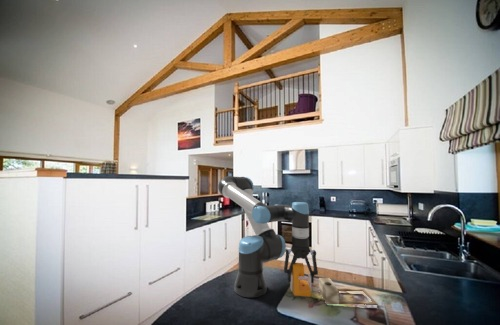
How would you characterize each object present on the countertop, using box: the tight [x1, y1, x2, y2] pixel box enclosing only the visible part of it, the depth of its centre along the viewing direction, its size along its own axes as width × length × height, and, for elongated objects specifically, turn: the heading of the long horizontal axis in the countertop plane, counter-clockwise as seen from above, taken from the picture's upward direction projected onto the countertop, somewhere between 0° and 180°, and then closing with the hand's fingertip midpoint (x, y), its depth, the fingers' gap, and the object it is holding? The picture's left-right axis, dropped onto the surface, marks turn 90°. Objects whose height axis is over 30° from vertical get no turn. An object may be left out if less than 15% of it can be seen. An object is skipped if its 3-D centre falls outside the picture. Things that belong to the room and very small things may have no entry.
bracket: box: [292, 262, 312, 297], centre depth 91 cm, size 11×7×12 cm, turn 176°
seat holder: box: [318, 277, 379, 306], centre depth 89 cm, size 20×12×6 cm, turn 85°
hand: (300, 289), depth 91 cm, fingers closed on bracket, 7 cm apart
